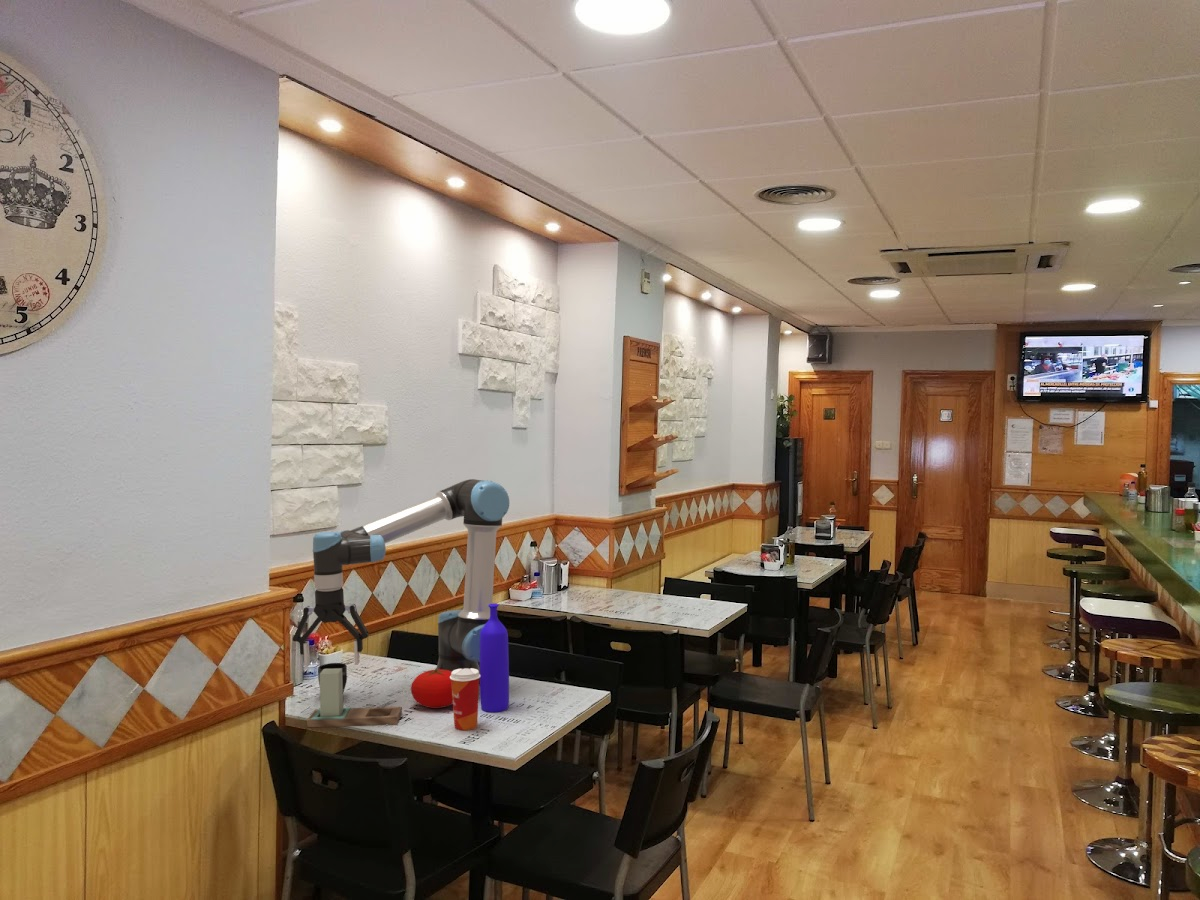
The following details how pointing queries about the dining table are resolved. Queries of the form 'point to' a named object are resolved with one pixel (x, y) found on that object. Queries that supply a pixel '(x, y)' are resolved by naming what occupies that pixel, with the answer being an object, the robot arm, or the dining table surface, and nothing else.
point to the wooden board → (357, 717)
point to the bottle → (494, 664)
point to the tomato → (433, 688)
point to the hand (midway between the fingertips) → (332, 664)
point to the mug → (332, 666)
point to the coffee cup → (465, 697)
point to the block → (331, 693)
